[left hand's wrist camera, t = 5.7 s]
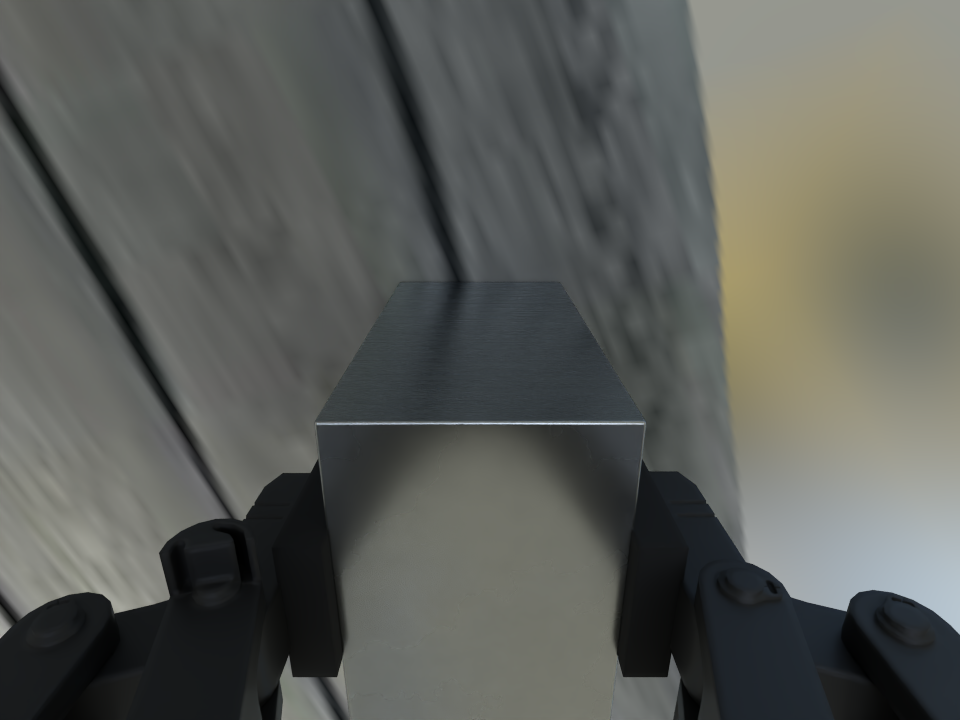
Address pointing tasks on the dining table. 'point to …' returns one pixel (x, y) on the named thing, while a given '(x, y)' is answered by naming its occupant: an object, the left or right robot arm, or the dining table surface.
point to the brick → (480, 507)
